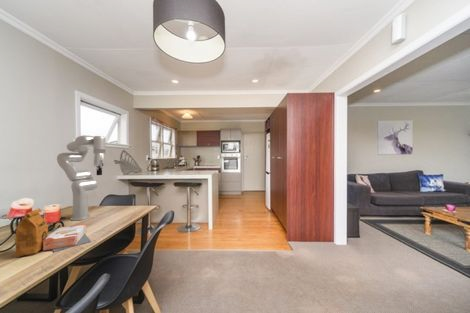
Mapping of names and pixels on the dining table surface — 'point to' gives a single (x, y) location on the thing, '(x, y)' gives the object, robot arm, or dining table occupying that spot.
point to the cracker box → (64, 237)
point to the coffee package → (30, 234)
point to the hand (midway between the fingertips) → (99, 175)
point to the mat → (83, 240)
